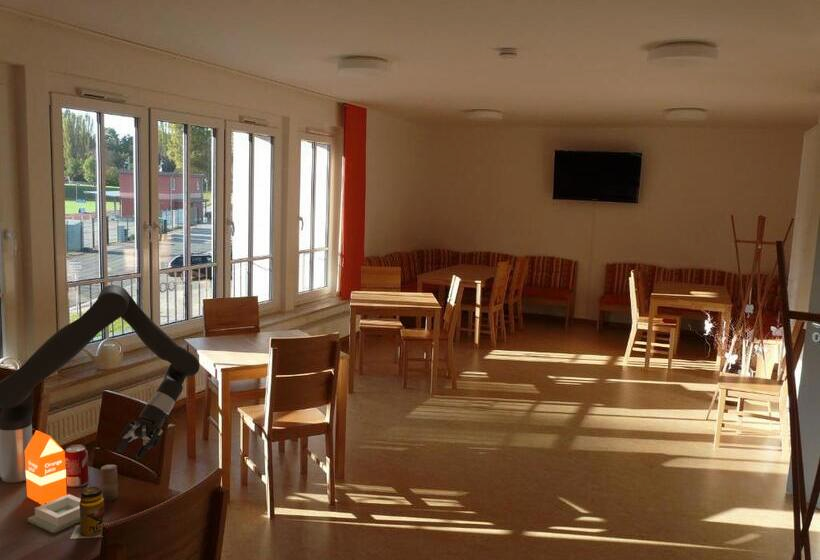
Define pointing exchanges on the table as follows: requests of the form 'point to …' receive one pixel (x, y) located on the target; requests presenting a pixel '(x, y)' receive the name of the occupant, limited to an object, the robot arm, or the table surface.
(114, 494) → the roller
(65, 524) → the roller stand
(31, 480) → the orange juice
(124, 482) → the table surface
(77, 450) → the soda can
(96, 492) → the condiment
